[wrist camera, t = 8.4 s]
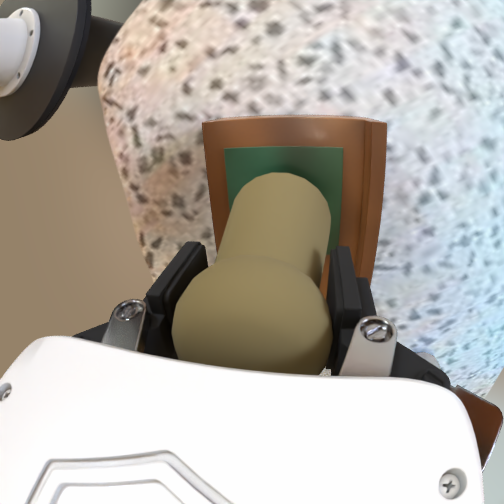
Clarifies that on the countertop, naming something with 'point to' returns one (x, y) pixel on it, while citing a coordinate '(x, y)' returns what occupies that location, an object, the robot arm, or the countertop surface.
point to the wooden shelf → (305, 171)
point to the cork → (263, 285)
